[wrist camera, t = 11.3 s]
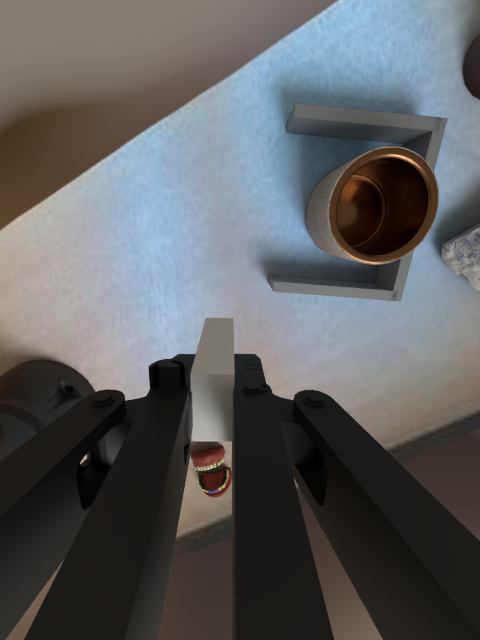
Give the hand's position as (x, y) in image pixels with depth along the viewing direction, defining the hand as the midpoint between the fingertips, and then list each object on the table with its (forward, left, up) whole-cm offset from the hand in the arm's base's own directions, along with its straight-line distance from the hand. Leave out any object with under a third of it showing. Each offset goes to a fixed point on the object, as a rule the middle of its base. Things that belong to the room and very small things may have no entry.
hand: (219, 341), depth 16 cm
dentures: (-1, -32, -24) cm, 40 cm away
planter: (+14, +9, -24) cm, 30 cm away
